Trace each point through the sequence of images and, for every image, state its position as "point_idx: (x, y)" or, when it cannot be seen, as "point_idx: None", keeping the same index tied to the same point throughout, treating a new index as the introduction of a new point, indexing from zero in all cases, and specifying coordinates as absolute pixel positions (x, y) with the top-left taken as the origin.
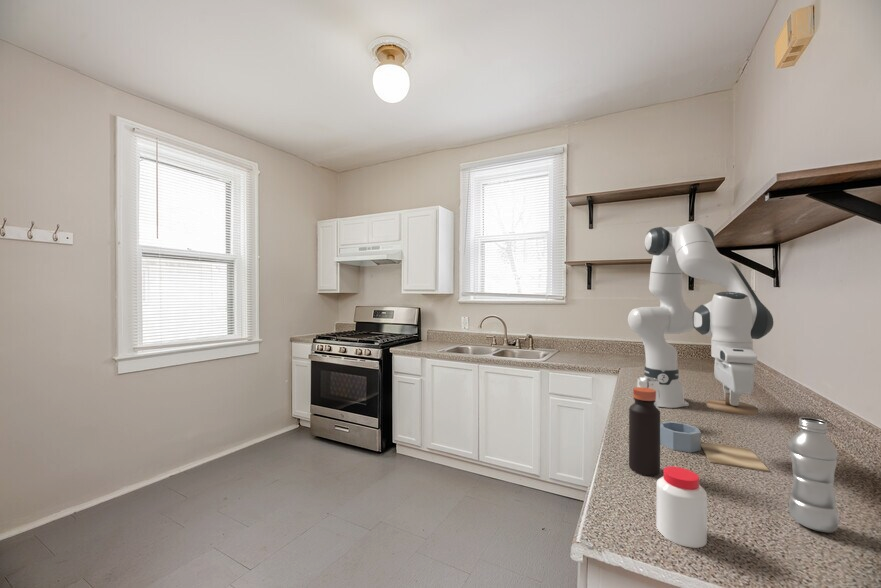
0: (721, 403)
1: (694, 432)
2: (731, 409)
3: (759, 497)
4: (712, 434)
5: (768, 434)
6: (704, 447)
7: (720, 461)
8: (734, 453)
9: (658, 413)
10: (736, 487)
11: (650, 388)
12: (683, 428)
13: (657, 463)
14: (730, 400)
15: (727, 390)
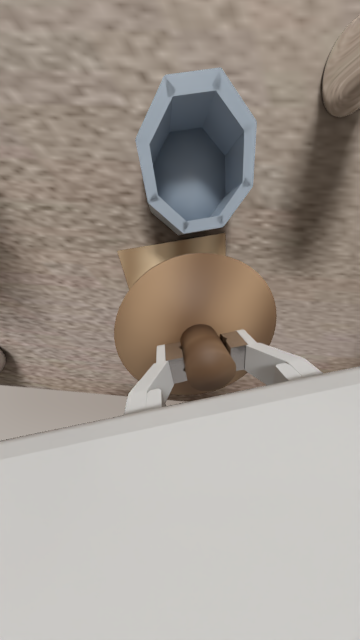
0: (207, 312)
1: (174, 215)
2: (123, 340)
3: (22, 311)
4: (289, 263)
5: (311, 340)
6: (192, 243)
7: (128, 268)
8: None
9: None
10: (30, 285)
11: None
12: (236, 187)
13: None
14: (156, 356)
15: (265, 364)
